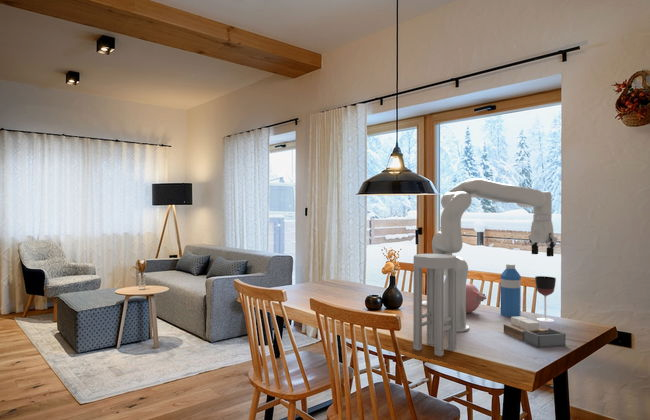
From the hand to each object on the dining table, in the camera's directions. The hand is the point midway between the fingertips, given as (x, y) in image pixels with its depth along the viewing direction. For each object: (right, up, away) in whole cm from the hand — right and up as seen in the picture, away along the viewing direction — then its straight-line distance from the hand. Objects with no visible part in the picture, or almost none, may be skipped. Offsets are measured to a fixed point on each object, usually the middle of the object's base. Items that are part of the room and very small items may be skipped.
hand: (542, 255), depth 201 cm
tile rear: (-18, -28, -18) cm, 38 cm away
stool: (-60, -31, -39) cm, 78 cm away
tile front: (-17, -28, -24) cm, 40 cm away
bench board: (-18, -31, -21) cm, 41 cm away
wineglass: (+4, -31, +5) cm, 32 cm away
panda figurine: (-42, -31, +39) cm, 66 cm away
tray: (-15, -31, -32) cm, 47 cm away
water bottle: (-9, -31, +14) cm, 35 cm away
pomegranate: (-29, -31, +17) cm, 46 cm away
